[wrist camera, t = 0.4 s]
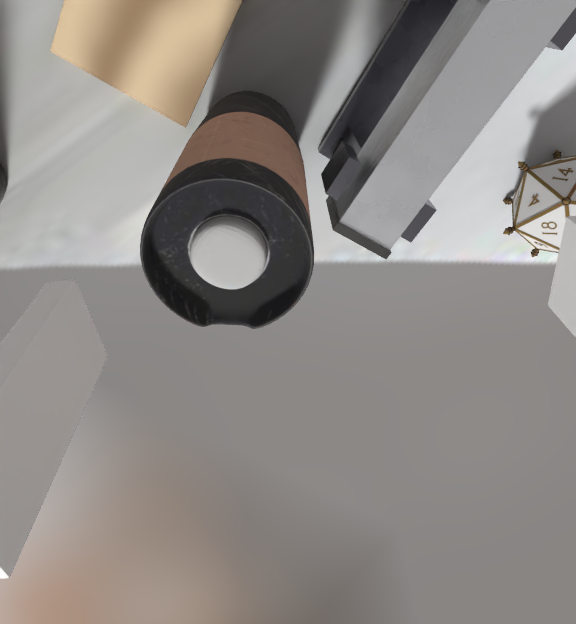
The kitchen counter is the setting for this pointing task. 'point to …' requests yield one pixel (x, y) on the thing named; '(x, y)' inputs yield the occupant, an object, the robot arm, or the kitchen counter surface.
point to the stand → (392, 93)
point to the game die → (544, 202)
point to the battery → (2, 184)
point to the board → (147, 47)
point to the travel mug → (233, 219)
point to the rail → (441, 113)
